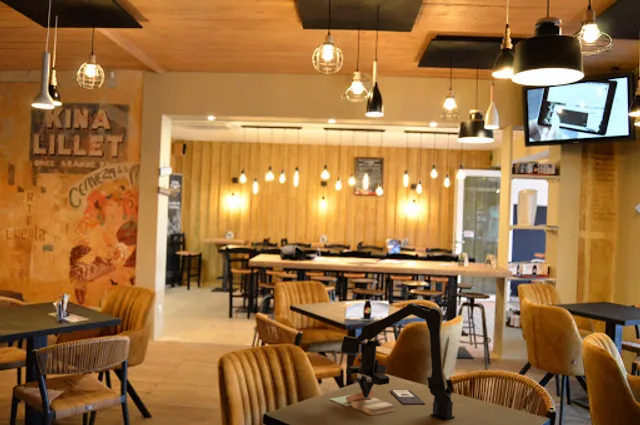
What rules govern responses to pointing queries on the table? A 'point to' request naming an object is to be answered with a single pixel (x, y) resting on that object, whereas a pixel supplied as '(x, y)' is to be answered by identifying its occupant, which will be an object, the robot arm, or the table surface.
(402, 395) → the chocolate bar
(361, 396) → the salmon orange rectangular block
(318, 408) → the table surface
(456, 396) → the table surface
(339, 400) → the mat
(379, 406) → the beige square slab
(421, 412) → the table surface
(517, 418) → the table surface
